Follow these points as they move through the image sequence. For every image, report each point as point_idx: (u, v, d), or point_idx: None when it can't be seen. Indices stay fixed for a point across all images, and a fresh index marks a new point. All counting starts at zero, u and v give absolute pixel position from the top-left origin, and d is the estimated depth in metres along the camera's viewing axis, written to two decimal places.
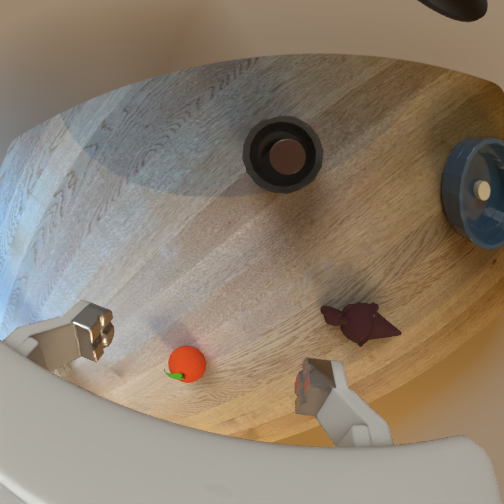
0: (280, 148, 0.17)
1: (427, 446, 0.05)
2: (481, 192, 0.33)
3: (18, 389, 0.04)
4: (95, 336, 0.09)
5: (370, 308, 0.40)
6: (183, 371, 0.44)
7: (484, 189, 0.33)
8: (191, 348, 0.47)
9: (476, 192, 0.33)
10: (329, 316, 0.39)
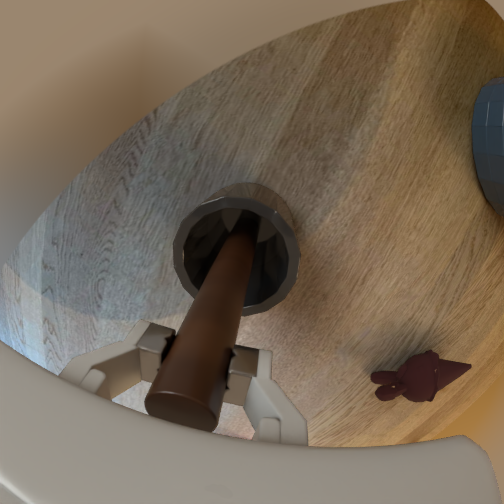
0: (157, 408, 0.07)
1: (427, 446, 0.05)
2: None
3: (18, 389, 0.04)
4: (163, 359, 0.09)
5: (429, 362, 0.26)
6: None
7: None
8: None
9: None
10: (381, 395, 0.26)
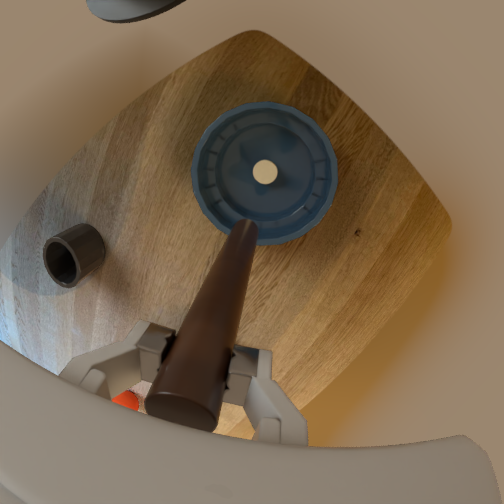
0: (157, 409, 0.07)
1: (427, 446, 0.05)
2: (260, 176, 0.36)
3: (18, 389, 0.04)
4: (163, 359, 0.09)
5: None
6: None
7: (263, 170, 0.36)
8: None
9: None
10: None
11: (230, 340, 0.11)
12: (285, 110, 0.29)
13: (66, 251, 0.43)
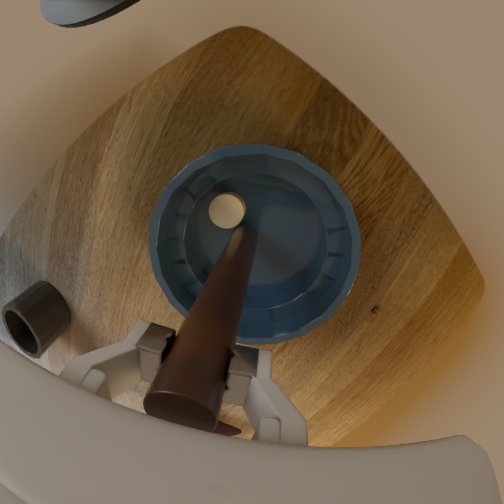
0: (156, 409, 0.07)
1: (427, 446, 0.05)
2: (219, 217, 0.25)
3: (18, 389, 0.04)
4: (163, 359, 0.09)
5: None
6: None
7: (224, 209, 0.25)
8: None
9: None
10: None
11: (229, 340, 0.10)
12: (286, 158, 0.20)
13: None
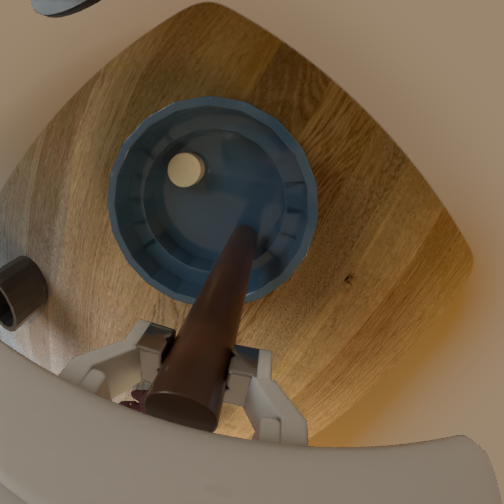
0: (157, 409, 0.07)
1: (427, 446, 0.05)
2: (177, 175, 0.24)
3: (18, 389, 0.04)
4: (163, 359, 0.09)
5: None
6: None
7: (181, 167, 0.24)
8: None
9: None
10: None
11: (230, 340, 0.10)
12: (234, 108, 0.19)
13: None
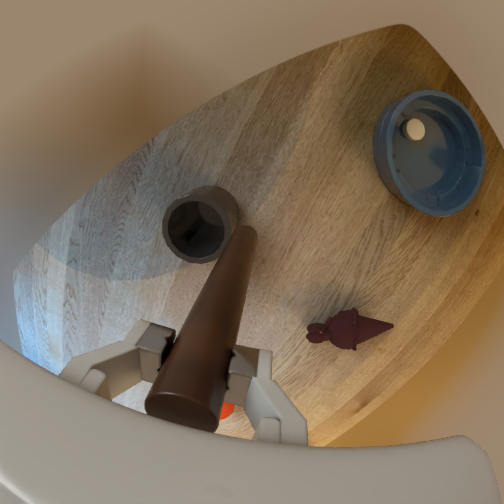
0: (157, 410, 0.07)
1: (427, 446, 0.05)
2: (412, 131, 0.32)
3: (18, 389, 0.04)
4: (163, 359, 0.09)
5: (350, 316, 0.41)
6: None
7: (415, 127, 0.31)
8: None
9: (407, 134, 0.32)
10: (310, 337, 0.41)
11: (230, 341, 0.10)
12: (456, 103, 0.26)
13: (182, 219, 0.40)
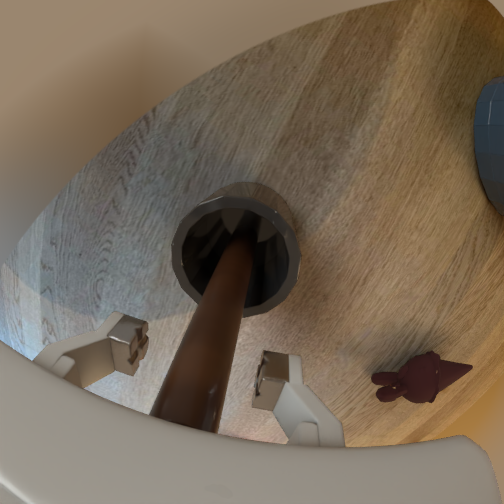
0: None
1: (427, 446, 0.05)
2: None
3: (18, 389, 0.04)
4: (133, 350, 0.09)
5: (430, 363, 0.26)
6: None
7: None
8: None
9: None
10: (382, 396, 0.26)
11: (226, 361, 0.11)
12: None
13: (202, 237, 0.25)
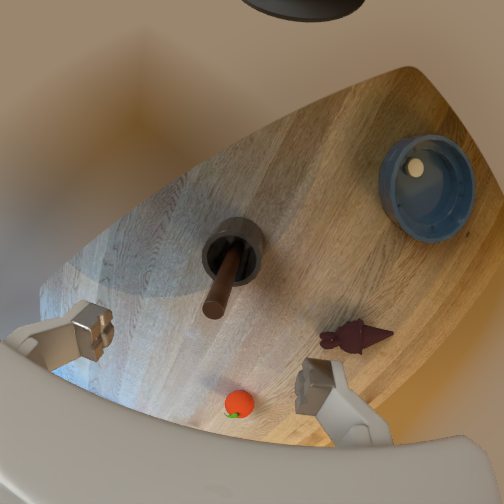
0: (206, 308, 0.29)
1: (427, 446, 0.05)
2: (412, 170, 0.39)
3: (18, 389, 0.04)
4: (95, 336, 0.09)
5: (356, 325, 0.48)
6: (237, 411, 0.55)
7: (415, 166, 0.39)
8: (238, 392, 0.59)
9: (408, 172, 0.40)
10: (323, 344, 0.48)
11: (228, 290, 0.33)
12: (452, 144, 0.33)
13: (215, 246, 0.47)
